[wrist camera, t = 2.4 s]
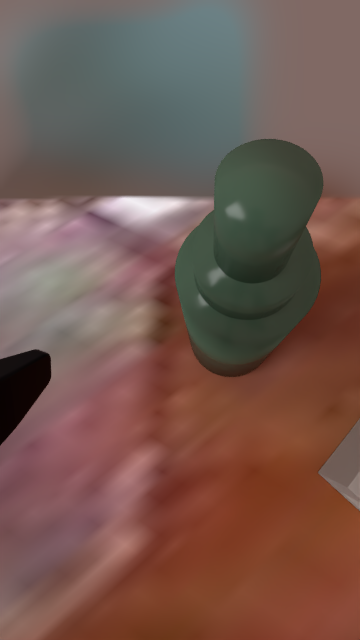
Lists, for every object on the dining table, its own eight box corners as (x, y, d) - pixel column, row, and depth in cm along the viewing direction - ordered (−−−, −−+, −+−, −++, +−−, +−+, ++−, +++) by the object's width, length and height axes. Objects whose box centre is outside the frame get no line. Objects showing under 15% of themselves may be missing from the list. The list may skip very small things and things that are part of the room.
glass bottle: (213, 391, 20) (222, 330, 6) (177, 322, 22) (120, 150, 8) (284, 353, 20) (445, 215, 6) (244, 288, 22) (302, 66, 8)
